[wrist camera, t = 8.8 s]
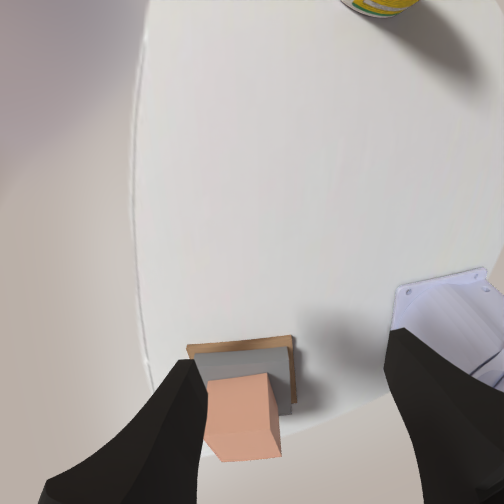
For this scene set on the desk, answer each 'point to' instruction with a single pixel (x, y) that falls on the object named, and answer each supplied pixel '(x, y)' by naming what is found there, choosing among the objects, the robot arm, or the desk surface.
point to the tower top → (251, 370)
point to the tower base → (251, 345)
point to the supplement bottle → (379, 7)
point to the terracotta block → (242, 419)
